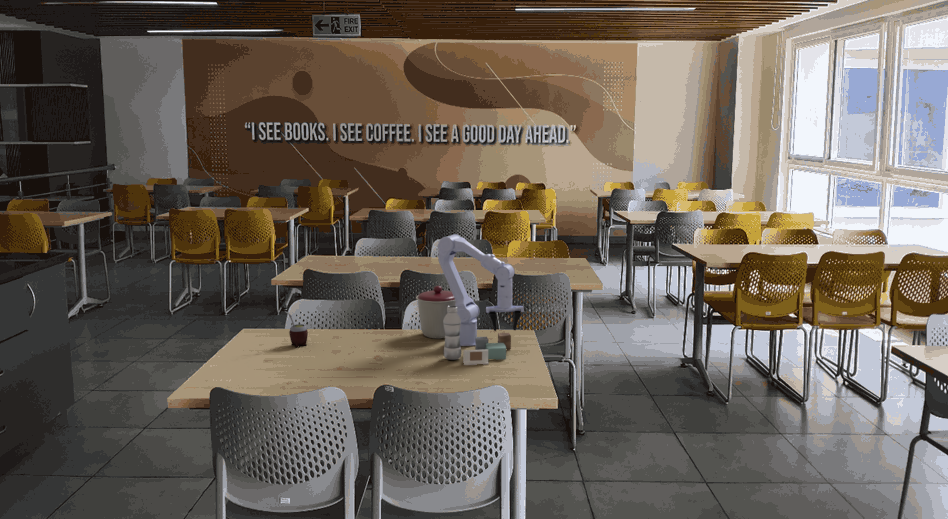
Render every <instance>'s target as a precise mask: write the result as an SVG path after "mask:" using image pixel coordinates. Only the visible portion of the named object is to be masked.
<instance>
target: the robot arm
mask: <svg viewBox="0 0 948 519" xmlns="http://www.w3.org/2000/svg"><path fill="white" fill-rule="evenodd" d="M436 247H437V249H438V254H437V255H438V256H437V257H438V262H439V265H440V268H441V270H442V273H443V275H444V277H445V279H446V282H447V284H448V287H449V289H450V292H452V294H453V296H454V298H455V301H456V304H455V306H457V310H458V312H457V314H458V315H459V317H460V319H461V326H460V347H468V346H469V347H470V346H471V347H472V346H475V337H478V323H477V322H478V319H477V317H479V315H480V307H479V306H478V305H477V304H476V303H475V300H474V299H473V298H472V297H470V296H469V295H468V293H467V290H466V287H465V285H464V283H463V280H462V278H461V276H460V273H459V271H458V270H457V266H456V264H455V262H454V258H455V256H456V254H457V253H458V252H463V253H465V254H467V255H469V256H470V257H472V258H474V259H475V260H477V261H479V262H480V266H481V267H483V268H484V269H486V271H488V272H490V273H492V274H493V275H495V278H496V280H497V305H494V306H493V305H492V306H486V307H485V312H486V314H487V313H488V315H489V317H490V319H491V322H492V326H493V331H494V332H496V331H497V314H496V313H509V312H511V313H512V320H513V321H512V322H513V323H512V324H513V325H512V330H513V331H517V325H518V323H519V320H520V318H521V316H522V313H524V310H525V309H524V306H523V305H513V277H514V275H515V267H513V266H512V265H511V263H506V262H505V261H502V260H500V259H499V258H497V257H496V255H495V254H493V253H487V254H485V253H484V252H482V251H481V250H480V249H478V248H477V247H476V246H474V245H473V244H472V243H470V242H469V241H467V239H466V238H464V237H463V236H460V235H459V234H457V233H454V234H451V235H448V236H443V237H441V238H440V240H439V241H438V244H436Z"/></svg>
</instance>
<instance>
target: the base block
mask: <svg viewBox="0 0 948 519" xmlns="http://www.w3.org/2000/svg"><path fill="white" fill-rule="evenodd" d="M486 350H488V359H496V360H507V350H506V346H505V344H504V343H498V342H488V343H486Z"/></svg>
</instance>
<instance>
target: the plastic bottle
mask: <svg viewBox="0 0 948 519" xmlns="http://www.w3.org/2000/svg"><path fill="white" fill-rule="evenodd" d="M447 312H448V313H447V315H446V316H445V317H444V320H443V323H444V329H445V338H444V347H443V357H444V359H446V360H448V361H450V360H451V361H455V360H459V359H460V358H461V357H462V353H463V352H462V346H460V326H461V319H460V317H459V315H458V314H457V312H458V310H457V306H448V307H447Z"/></svg>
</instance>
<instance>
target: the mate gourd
mask: <svg viewBox="0 0 948 519" xmlns="http://www.w3.org/2000/svg"><path fill="white" fill-rule="evenodd" d="M284 312H285V314H287V315H288V317H289V318H290V320H291V324H292V325H291V327H290V328H289V332H288V333H289V338H290V345H291V346H295V348H296V349H297V348H299V347H307V346H308V345H307V342H308V335H309V331H308V328H307V326H306V325H305V324H301V323H300V324H299V323H298V324H295V322H294V320H293V317H292V316H293V315H291V313H289V312H288V311H286V310H284Z"/></svg>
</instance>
